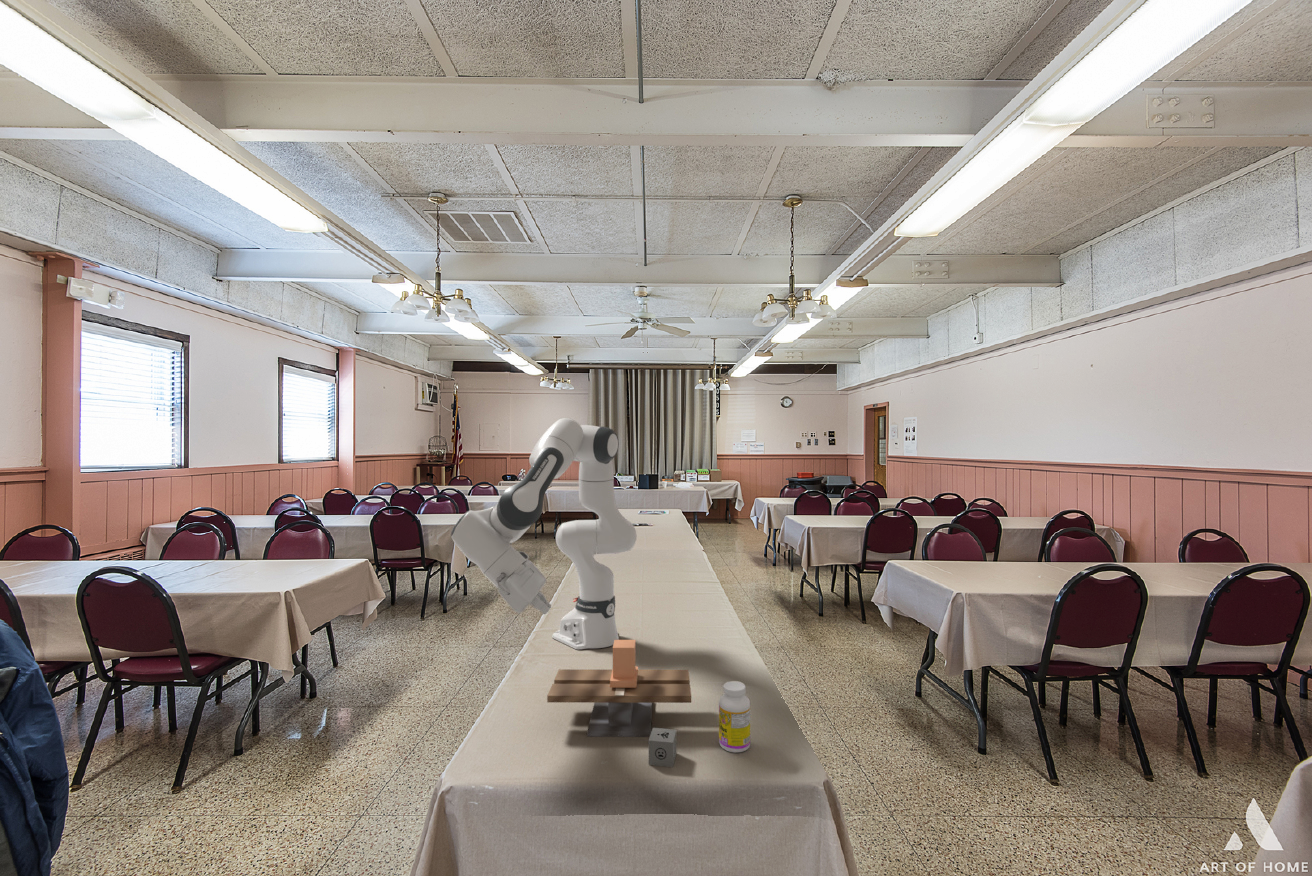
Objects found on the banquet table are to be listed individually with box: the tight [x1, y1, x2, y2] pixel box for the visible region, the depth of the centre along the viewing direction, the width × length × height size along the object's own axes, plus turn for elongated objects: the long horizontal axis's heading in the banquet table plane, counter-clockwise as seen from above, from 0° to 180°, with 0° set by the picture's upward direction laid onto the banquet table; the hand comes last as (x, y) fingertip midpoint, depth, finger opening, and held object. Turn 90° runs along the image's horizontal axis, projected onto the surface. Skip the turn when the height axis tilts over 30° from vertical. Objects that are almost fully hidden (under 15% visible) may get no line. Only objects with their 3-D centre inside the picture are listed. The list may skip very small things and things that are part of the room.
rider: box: [610, 639, 639, 688], centre depth 132 cm, size 6×8×10 cm
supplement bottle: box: [718, 680, 751, 754], centre depth 121 cm, size 7×7×13 cm
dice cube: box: [648, 727, 678, 768], centre depth 116 cm, size 5×5×5 cm
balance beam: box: [546, 668, 692, 738], centre depth 132 cm, size 32×16×9 cm, turn 89°
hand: (548, 610), depth 132 cm, fingers closed
